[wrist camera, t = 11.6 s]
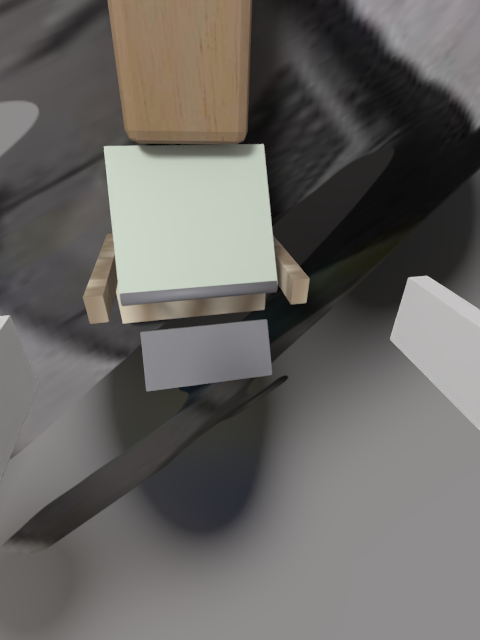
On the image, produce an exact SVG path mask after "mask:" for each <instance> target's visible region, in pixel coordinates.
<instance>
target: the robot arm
mask: <svg viewBox="0 0 480 640" xmlns="http://www.w3.org/2000/svg"><path fill="white" fill-rule="evenodd" d="M390 340H391V341H392V342H393V343H394V344H395V345H396V346H397V347H398V348H399V349H400V350H401V351H402V352H403V353H404V354H405V355H406V356H407V357H408V358H409V359H410V360H411V361H412V362H413V363H414V364H415V365H416V366H417V367H418V368H419V369H420V370H421V371H422V372H423V373H424V374H425V376H427V377H428V379H429V380H430V381H431V382H432V383H433V384H434V385H435V386H436V387H437V388H438V389H439V390H440V391H441V392H442V393H443V394H444V395H445V396H446V397H447V398H448V399H449V400H450V401H451V402H452V403H453V404H454V405H455V406H456V407H457V408H458V409H459V410H460V411H461V412H462V413H463V414H464V415H465V416H466V417H467V418H468V419H469V420H470V421H471V422H472V423H473V424H474V425H475V426H476V427H477V428H478V429H479V430H480V310H479V309H478V308H476V307H475V306H473V305H472V304H470V303H468V302H467V301H465V300H464V299H462V298H461V297H459V296H458V295H456V294H455V293H453V292H451V291H450V290H448V289H447V288H445V287H444V286H442V285H440V284H439V283H437V282H436V281H434V280H433V279H431V278H430V277H428V276H420V277H409V278H408V281H407V284H406V287H405V291H404V294H403V297H402V300H401V304H400V307H399V311H398V314H397V317H396V320H395V324H394V327H393V330H392V334H391V337H390ZM38 387H39V383H38V380H37V378H36V376H35V373H34V371H33V369H32V366H31V364H30V361H29V359H28V357H27V354H26V352H25V349H24V347H23V345H22V342H21V340H20V338H19V335H18V333H17V330H16V328H15V326H14V323H13V321H12V319H11V316H10V315H7V316H0V482H1V479H2V476H3V474H4V472H5V469H6V466H7V464H8V462H9V459H10V457H11V454H12V452H13V449H14V447H15V444H16V442H17V439H18V437H19V434H20V432H21V429H22V427H23V424H24V422H25V419H26V417H27V414H28V412H29V409H30V407H31V404H32V402H33V399H34V397H35V394H36V392H37V389H38Z"/></svg>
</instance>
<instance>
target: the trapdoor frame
mask: <svg viewBox="0 0 480 640" xmlns="http://www.w3.org/2000/svg"><path fill="white" fill-rule="evenodd" d="M273 241H274V251H275V262H276V272H277V282H278V285H279V287H280V288H281V290H282V291H283V293H284V295H285V296H286V298H287V299H288V301H289V302H290V304H301V303H306V302H307V294H308V286H309V279H310V278H309V277H308V276H307V275H306V274H305V273H304V271H303V270H302V269H301V268H300V267H299V265H298V264H297V263H296V262H295V261H294V259H293V258H292V257H291V256H290V255H289V253H288V252H287V251H286V250H285V249H284V248H283V246H282V245H281V244H280V243H279V242H278V240H277V239H276V238H275V237H274V236H273ZM115 293H116V294H117V298H118V303H119V308H120V312H121V317H122V322H123V324H124V323H134V322H144V321H154V320H164V319H174V318H185V317H195V316H205V315H215V314H225V313H236V312H246V311H257V310H265V295H266V293H263V294H252V295H241V296H230V297H218V298H207V299H196V300H185V301H174V302H162V303H151V304H140V305H129V306H122V305H121V301H120V299H119V290H118V280H117V270H116V261H115V251H114V241H113V234H107V236H106V238H105V241H104V244H103V246H102V249H101V251H100V254H99V257H98V259H97V262H96V264H95V267H94V270H93V272H92V275H91V278H90V280H89V283H88V285H87V288H86V291H85V293H84V296H83V300H84V303H85V307H86V311H87V314H88V318H89V321H90V324H93V323H103V322H109V320H110V315H111V311H112V306H113V302H114V297H115Z"/></svg>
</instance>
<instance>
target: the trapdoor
mask: <svg viewBox="0 0 480 640" xmlns="http://www.w3.org/2000/svg"><path fill="white" fill-rule="evenodd" d="M104 154H105V163H106V173H107V183H108V193H109V202H110V212H111V222H112V231H113V241H114V251H115V261H116V270H117V280H118V290H119V299H120V301H121V305H122V306H129V305H140V304H151V303H162V302H174V301H185V300H196V299H207V298H218V297H230V296H241V295H252V294H263V293H274V292H277V288H278V286H277V285H278V282H277V272H276V262H275V251H274V241H273V232H272V221H271V211H270V201H269V191H268V181H267V171H266V161H265V151H264V144H236V145H234V144H230V145H155V146H104ZM140 334H141V343H142V352H143V363H144V373H145V382H146V391H153V390H161V389H169V388H176V387H184V386H192V385H199V384H207V383H214V382H222V381H230V380H237V379H245V378H252V377H260V376H267V375H272V365H271V355H270V345H269V335H268V325H267V319H264V320H250V321H241V322H232V323H222V324H212V325H202V326H192V327H182V328H173V329H162V330H153V331H144V332H140Z"/></svg>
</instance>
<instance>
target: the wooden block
mask: <svg viewBox="0 0 480 640" xmlns="http://www.w3.org/2000/svg"><path fill="white" fill-rule="evenodd" d="M108 7H109V15H110V22H111V30H112V37H113V45H114V52H115V60H116V67H117V75H118V82H119V89H120V97H121V104H122V112H123V119H124V127H125V131H126V133H127V135H128V136H129V138H130V140H133V141H135V142H137V143H141V144H234V145H236V144H238V143H240V142H242V141H244V139H245V137H246V134H247V132H248V106H249V78H250V50H251V21H252V0H108Z"/></svg>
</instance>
